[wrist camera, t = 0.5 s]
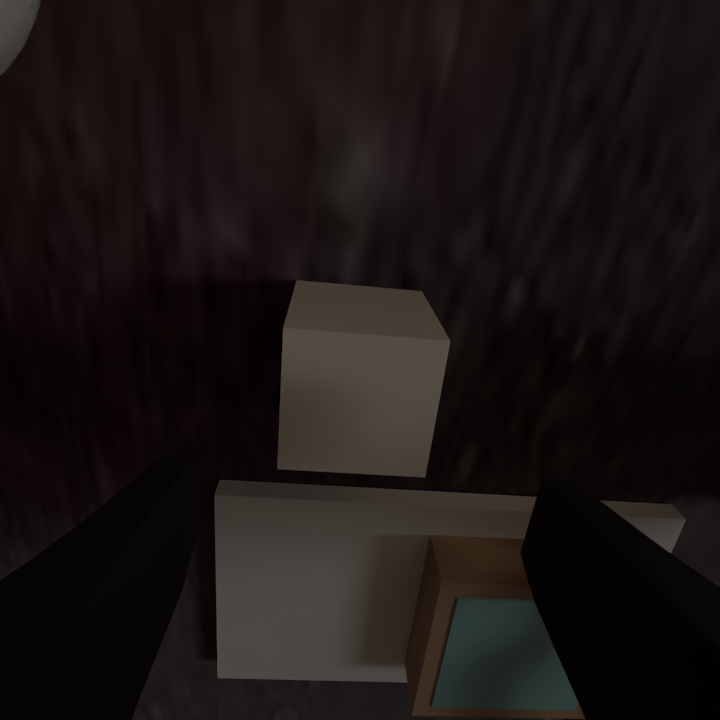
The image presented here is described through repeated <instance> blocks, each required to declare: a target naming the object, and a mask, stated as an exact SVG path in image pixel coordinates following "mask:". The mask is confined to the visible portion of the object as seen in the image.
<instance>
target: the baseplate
mask: <svg viewBox="0 0 720 720" xmlns="http://www.w3.org/2000/svg"><path fill="white" fill-rule="evenodd" d="M214 498H215V556H216V615H217V673H218V678H239V679H282V680H325V681H368V682H407V676H406V668H405V658H406V653H407V648H408V643H409V638H410V633H411V628H412V623H413V618H414V613H415V608H416V603H417V598H418V593H419V588H420V583H421V578H422V573H423V568H424V563H425V558H426V553H427V548H428V543H429V538H430V535H446V536H467V537H489V538H510V539H524V538H525V535H526V531H527V528H528V525H529V521H530V518H531V515H532V511H533V508H534V504H535V501H536V498H537V497H530V496H512V495H493V494H475V493H457V492H438V491H420V490H402V489H383V488H365V487H347V486H329V485H310V484H292V483H274V482H255V481H237V480H219V483H218V486H217V489H216V492H215V495H214ZM600 501H601V502H603V503H604V504H605V505H607V506H608V507H609V508H611V509H612V510H613V511H615V512H616V513H617V514H619V515H620V516H621V517H622V518H624V519H625V520H626V521H628V522H629V523H630V524H632V525H633V526H634V527H636V528H637V529H638V530H640V531H641V532H642V533H644V534H645V535H646V536H648V537H649V538H650V539H652V540H653V541H654V542H656V543H657V544H658V545H660V546H661V547H663V548H664V549H665V550H667V551H668V552H669V553H671V552H672V550H673V548H674V545H675V543H676V541H677V539H678V536H679V534H680V532H681V530H682V528H683V525H684V523H685V521H686V519H685V518H684V517H683V516H682V515H681V514H680V512H679V511H678V510H677V509H676V508H675V507H674V506H673V505H672V504H658V503H640V502H622V501H603V500H600Z"/></svg>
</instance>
